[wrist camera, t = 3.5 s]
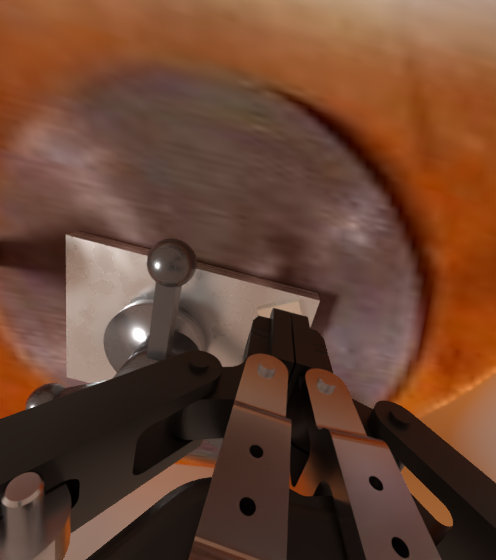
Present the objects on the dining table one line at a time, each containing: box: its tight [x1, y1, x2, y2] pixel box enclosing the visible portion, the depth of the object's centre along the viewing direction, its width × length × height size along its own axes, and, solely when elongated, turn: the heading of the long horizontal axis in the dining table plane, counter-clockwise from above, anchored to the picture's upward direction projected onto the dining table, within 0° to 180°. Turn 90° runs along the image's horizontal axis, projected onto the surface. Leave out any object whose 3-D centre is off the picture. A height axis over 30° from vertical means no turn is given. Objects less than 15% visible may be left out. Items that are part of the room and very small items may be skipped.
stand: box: [66, 231, 320, 383], centre depth 25 cm, size 20×14×2 cm
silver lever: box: [26, 239, 223, 450], centre depth 21 cm, size 18×16×6 cm
